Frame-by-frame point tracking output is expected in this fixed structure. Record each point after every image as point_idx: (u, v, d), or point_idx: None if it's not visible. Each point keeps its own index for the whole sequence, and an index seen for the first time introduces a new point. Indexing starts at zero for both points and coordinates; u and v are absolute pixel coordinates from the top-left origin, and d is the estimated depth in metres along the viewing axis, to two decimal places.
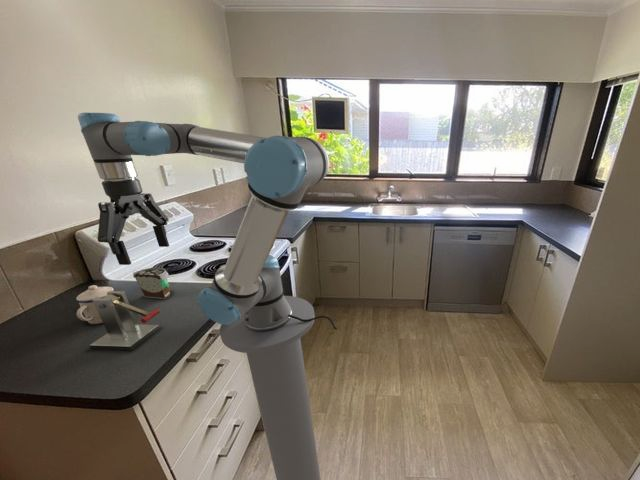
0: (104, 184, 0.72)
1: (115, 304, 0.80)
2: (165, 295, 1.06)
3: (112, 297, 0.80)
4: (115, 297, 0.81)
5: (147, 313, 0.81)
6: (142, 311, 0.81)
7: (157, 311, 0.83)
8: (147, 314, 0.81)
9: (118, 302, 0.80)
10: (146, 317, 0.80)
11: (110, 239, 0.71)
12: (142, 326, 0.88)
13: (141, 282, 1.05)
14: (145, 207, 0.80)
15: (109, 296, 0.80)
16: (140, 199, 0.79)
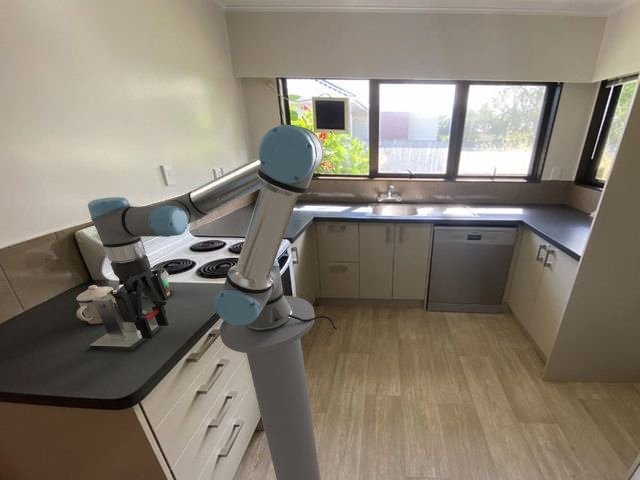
0: (113, 266, 0.72)
1: (115, 304, 0.80)
2: None
3: (112, 297, 0.80)
4: None
5: (147, 313, 0.81)
6: (142, 311, 0.81)
7: (157, 311, 0.83)
8: (147, 314, 0.81)
9: None
10: (146, 317, 0.80)
11: (135, 319, 0.76)
12: None
13: None
14: (151, 283, 0.80)
15: (109, 296, 0.80)
16: (148, 273, 0.80)
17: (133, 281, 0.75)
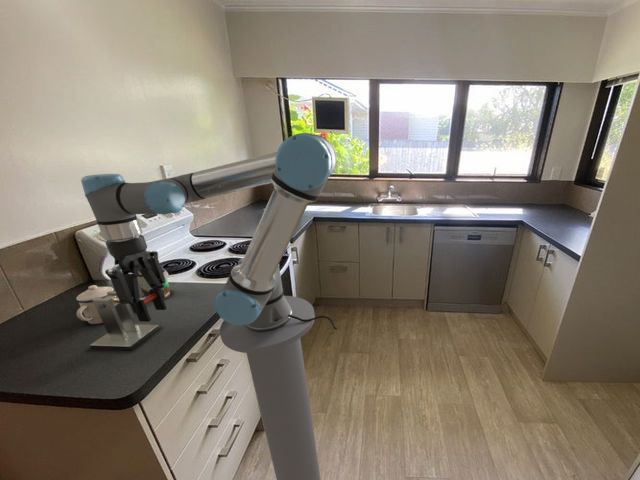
0: (108, 245, 0.70)
1: (115, 302, 0.80)
2: (165, 295, 1.06)
3: (110, 296, 0.80)
4: (113, 296, 0.80)
5: (144, 298, 0.79)
6: None
7: (154, 294, 0.81)
8: (143, 298, 0.79)
9: (116, 299, 0.80)
10: None
11: (131, 300, 0.73)
12: (142, 326, 0.88)
13: (141, 282, 1.05)
14: (148, 265, 0.78)
15: (107, 297, 0.80)
16: (144, 254, 0.77)
17: (129, 261, 0.73)
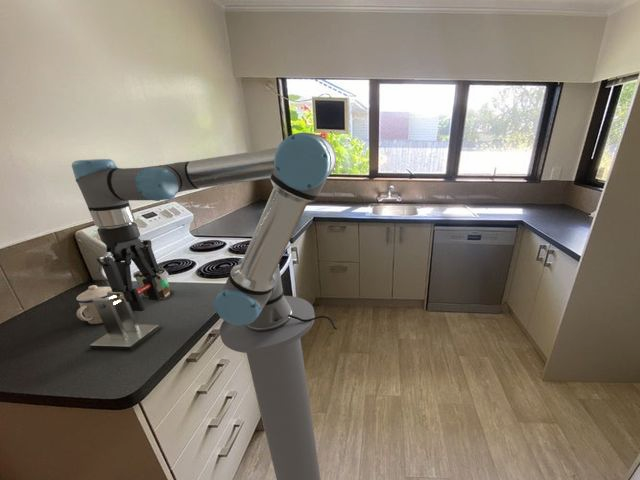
0: (100, 232, 0.68)
1: (114, 300, 0.80)
2: (165, 295, 1.06)
3: (109, 297, 0.80)
4: None
5: (137, 289, 0.78)
6: None
7: (147, 284, 0.80)
8: (137, 289, 0.78)
9: (115, 297, 0.80)
10: None
11: (124, 289, 0.72)
12: (142, 326, 0.88)
13: (141, 282, 1.05)
14: (141, 253, 0.76)
15: None
16: (137, 242, 0.76)
17: (121, 249, 0.72)
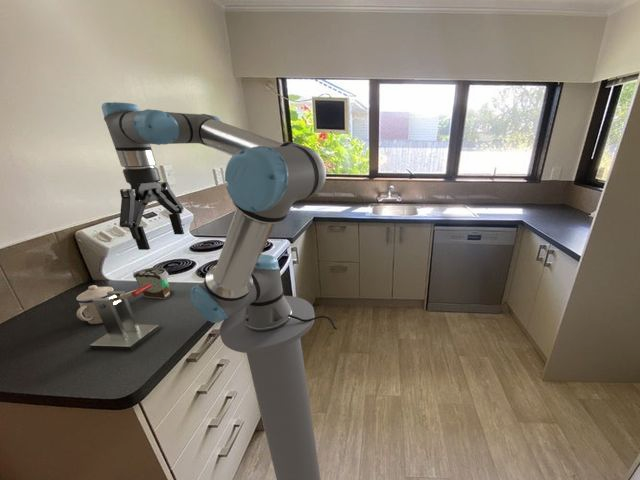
0: (125, 172, 0.75)
1: (114, 300, 0.80)
2: (165, 295, 1.06)
3: (109, 297, 0.80)
4: None
5: (137, 289, 0.78)
6: (134, 290, 0.79)
7: (147, 284, 0.80)
8: (137, 289, 0.78)
9: (115, 297, 0.80)
10: (135, 290, 0.77)
11: (131, 224, 0.74)
12: (142, 326, 0.88)
13: (141, 282, 1.05)
14: (162, 195, 0.83)
15: None
16: (158, 187, 0.82)
17: (144, 190, 0.78)
